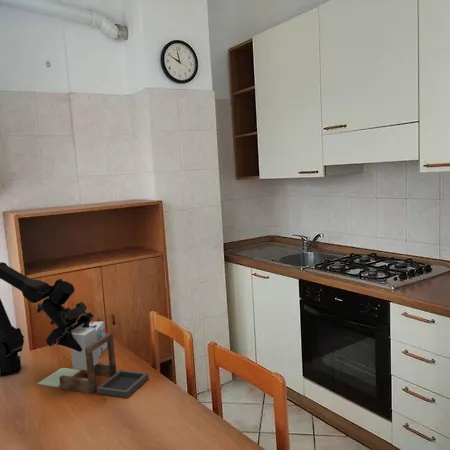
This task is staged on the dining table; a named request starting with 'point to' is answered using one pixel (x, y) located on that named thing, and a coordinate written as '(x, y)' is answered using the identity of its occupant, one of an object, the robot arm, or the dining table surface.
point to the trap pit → (123, 384)
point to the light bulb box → (99, 334)
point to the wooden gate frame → (92, 368)
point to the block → (83, 347)
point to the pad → (54, 378)
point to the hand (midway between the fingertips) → (87, 347)
